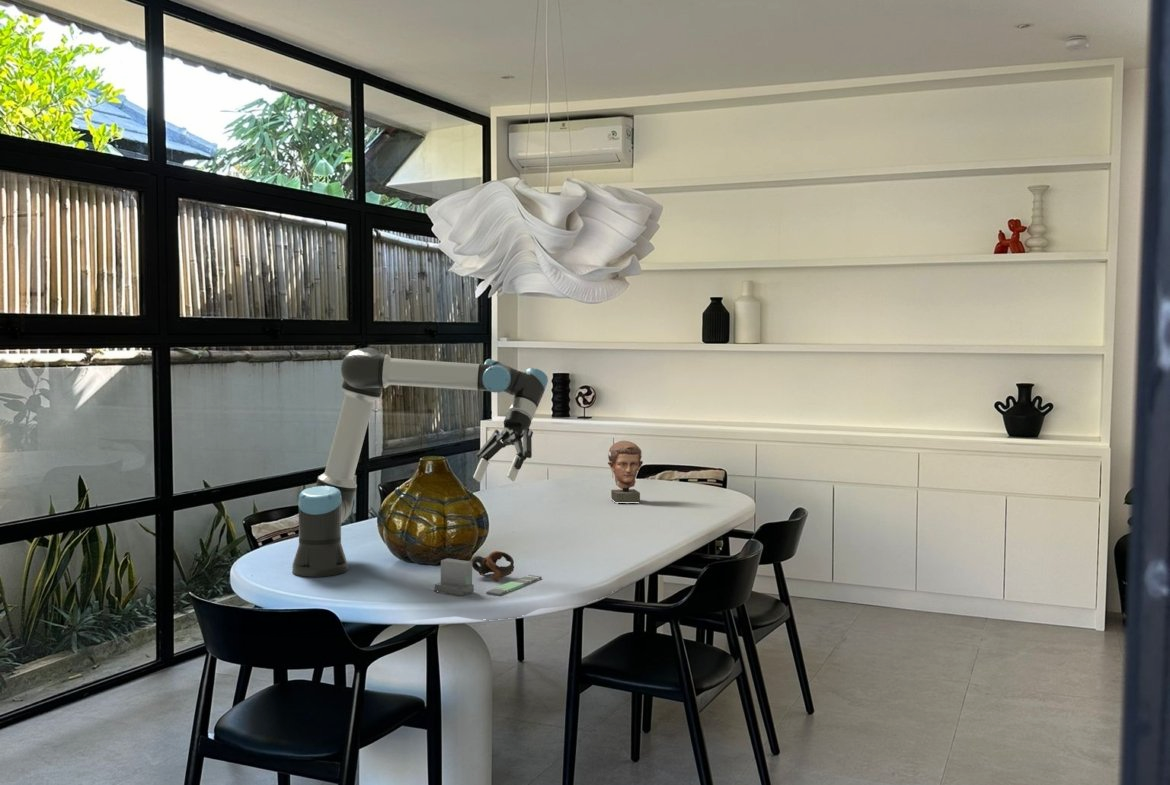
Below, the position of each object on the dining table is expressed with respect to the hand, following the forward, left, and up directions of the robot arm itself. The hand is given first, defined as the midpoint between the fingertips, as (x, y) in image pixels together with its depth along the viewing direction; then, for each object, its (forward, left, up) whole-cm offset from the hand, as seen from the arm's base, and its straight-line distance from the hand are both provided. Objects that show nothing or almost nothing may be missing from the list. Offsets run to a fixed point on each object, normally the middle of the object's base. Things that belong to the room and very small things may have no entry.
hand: (493, 479), depth 287 cm
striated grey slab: (+14, -14, -27) cm, 34 cm away
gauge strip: (+14, +2, -27) cm, 31 cm away
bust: (-103, +89, -28) cm, 139 cm away
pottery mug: (+2, -1, -28) cm, 28 cm away
